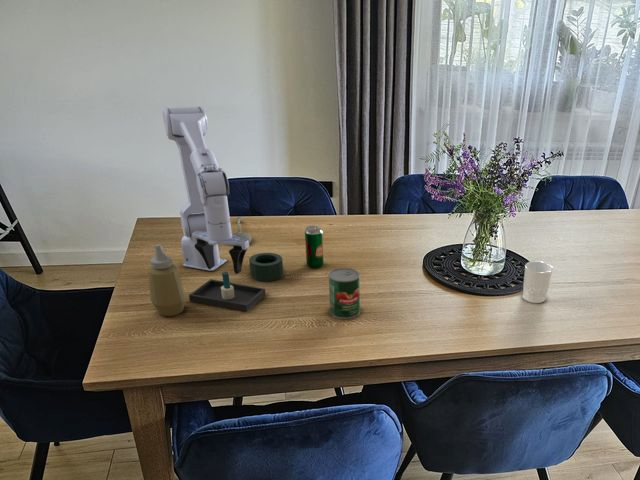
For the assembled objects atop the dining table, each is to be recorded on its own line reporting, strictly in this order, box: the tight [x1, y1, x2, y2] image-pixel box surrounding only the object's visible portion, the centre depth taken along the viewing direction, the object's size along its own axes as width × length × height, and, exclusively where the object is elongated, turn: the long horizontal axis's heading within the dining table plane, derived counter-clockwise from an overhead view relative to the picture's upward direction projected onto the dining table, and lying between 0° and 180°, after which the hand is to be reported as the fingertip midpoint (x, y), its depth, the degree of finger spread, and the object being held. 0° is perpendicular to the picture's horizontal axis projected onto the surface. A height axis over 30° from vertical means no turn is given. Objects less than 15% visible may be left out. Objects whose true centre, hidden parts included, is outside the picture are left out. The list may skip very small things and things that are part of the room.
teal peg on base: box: [221, 271, 235, 299], centre depth 161 cm, size 3×3×7 cm
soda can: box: [304, 225, 325, 269], centre depth 182 cm, size 5×5×12 cm
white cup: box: [522, 260, 554, 304], centre depth 176 cm, size 8×8×10 cm
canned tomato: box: [328, 267, 361, 320], centre depth 159 cm, size 8×8×11 cm
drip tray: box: [188, 278, 267, 313], centre depth 163 cm, size 16×10×2 cm, turn 78°
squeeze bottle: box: [147, 243, 187, 317], centre depth 150 cm, size 8×8×18 cm
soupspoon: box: [232, 216, 252, 245], centre depth 200 cm, size 22×3×7 cm
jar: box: [248, 252, 284, 283], centre depth 176 cm, size 9×9×5 cm
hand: (224, 269), depth 159 cm, fingers open, 7 cm apart
